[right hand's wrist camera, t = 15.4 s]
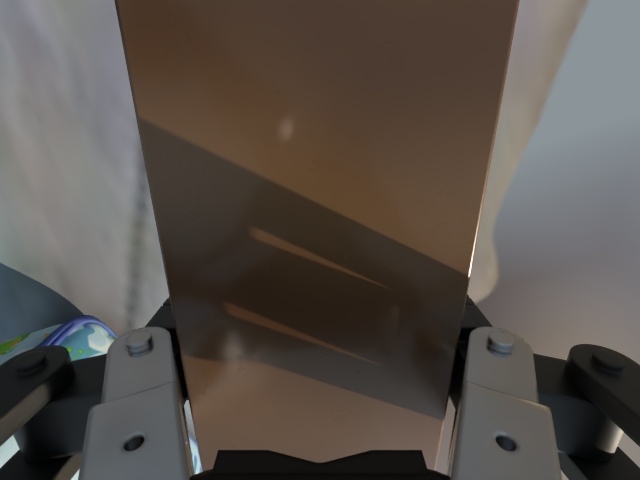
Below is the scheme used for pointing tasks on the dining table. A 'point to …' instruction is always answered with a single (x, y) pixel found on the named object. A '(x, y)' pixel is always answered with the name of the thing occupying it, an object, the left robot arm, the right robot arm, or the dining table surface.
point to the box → (317, 208)
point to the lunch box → (82, 342)
